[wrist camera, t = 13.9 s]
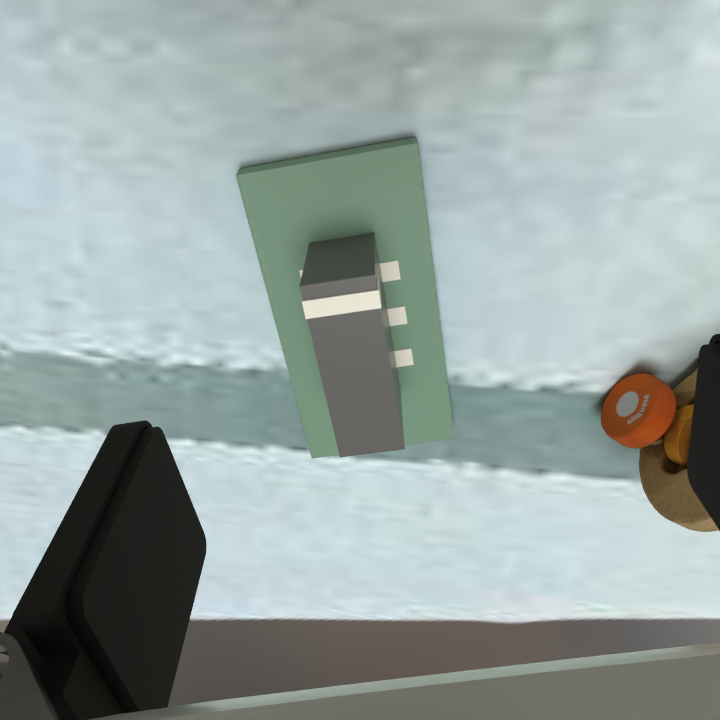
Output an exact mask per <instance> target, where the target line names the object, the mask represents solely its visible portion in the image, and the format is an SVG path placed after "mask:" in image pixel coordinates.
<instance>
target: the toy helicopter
mask: <svg viewBox="0 0 720 720" xmlns="http://www.w3.org/2000/svg"><path fill="white" fill-rule="evenodd" d="M697 370H698V368H697V369H696V370H695V371H694V373H693V374H692V375H690V376H689V377H687V378H686V379H685V380H683V381H682V382H681V383H680V384H679V385H677V386H676V387H675V388H674V389H673V390H672V389H671V388H670V387H669V386H668V385H666V384H665V383H663V382H662V381H660V380H659V379H657V378H655V377H654V376H652V375H649V374H643V373H641V374H635V375H631V376H629V377H627V378H625V379H623V380H621V381H620V382H619V383H618V384H617V385H616V386H615V387H614V388H613V389H612V390H611V392H610V393H609V395H608V396H607V398H606V400H605V402H604V404H603V407H602V411H601V424H602V427H603V429H604V431H605V432H606V434H607V435H608V436H609V437H611V438H612V439H614V440H615V441H617V442H619V443H620V444H622V445H624V446H626V447H629V448H641V449H640V458H639V470H640V477H641V482H642V486H643V489H644V491H645V494H646V496H647V498H648V499H649V501H650V503H651V504H652V505H653V507H654V508H655V509H656V510H657V511H658V512H659V513H660V514H661V515H662V516H663V517H665V518H666V519H668V520H670V521H672V522H675V523H677V524H679V525H681V526H683V527H685V528H687V529H691V530H695V531H701V532H710V531H717V530H719V529H718V527H717V526H716V524H715V523H714V521H713V520H712V518H711V517H710V515H709V514H708V512H707V511H706V509H705V508H704V506H703V505H702V503H701V502H700V500H699V499H698V497H697V496H696V494H695V493H694V491H693V489H692V487H691V485H690V483H689V479H688V474H687V464H688V454H689V445H690V436H691V426H692V417H693V407H694V398H695V389H696V379H697Z"/></svg>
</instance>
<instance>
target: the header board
mask: <svg viewBox="0 0 720 720" xmlns="http://www.w3.org/2000/svg"><path fill="white" fill-rule="evenodd" d="M236 178H237V181H238V185H239V189H240V192H241V196H242V200H243V204H244V207H245V211H246V215H247V219H248V222H249V226H250V230H251V233H252V237H253V241H254V245H255V248H256V252H257V256H258V259H259V263H260V267H261V271H262V274H263V278H264V282H265V286H266V289H267V293H268V297H269V300H270V304H271V308H272V312H273V315H274V319H275V323H276V327H277V330H278V334H279V338H280V341H281V345H282V349H283V353H284V356H285V360H286V364H287V368H288V371H289V375H290V379H291V382H292V386H293V390H294V394H295V397H296V401H297V405H298V409H299V412H300V416H301V420H302V423H303V427H304V431H305V435H306V438H307V442H308V446H309V450H310V453H311V457H312V458H319V457H326V456H333V455H339V451H338V447H337V443H336V439H335V435H334V430H333V426H332V422H331V418H330V413H329V409H328V405H327V401H326V397H325V392H324V388H323V384H322V380H321V375H320V371H319V367H318V363H317V359H316V354H315V350H314V346H313V342H312V337H311V333H310V329H309V325H308V321H307V319H306V318H305V314H304V309H303V305H302V295H301V291H300V287H299V286H300V281H301V277H302V273H303V268H304V264H305V260H306V255H307V251H308V247H309V243H312V242H318V241H325V240H331V239H337V238H344V237H350V236H356V235H363V234H369V233H375V239H376V245H377V251H378V257H379V263H380V269H381V275H382V281H383V287H384V293H385V299H386V305H387V311H388V317H389V323H390V329H391V335H392V341H393V348H394V354H395V360H396V366H397V372H398V378H399V384H400V390H401V402H402V417H403V432H404V445H410V444H417V443H423V442H430V441H437V440H444V439H451V438H454V430H453V422H452V414H451V406H450V398H449V390H448V382H447V374H446V366H445V358H444V350H443V342H442V333H441V325H440V317H439V309H438V301H437V293H436V285H435V277H434V269H433V261H432V253H431V245H430V236H429V228H428V220H427V212H426V204H425V196H424V188H423V180H422V172H421V164H420V156H419V148H418V142H417V139H416V137H412V138H406V139H401V140H395V141H390V142H384V143H379V144H373V145H368V146H362V147H356V148H351V149H345V150H340V151H334V152H329V153H323V154H317V155H312V156H306V157H301V158H295V159H290V160H284V161H278V162H273V163H267V164H262V165H256V166H251V167H245V168H240V169H239V171H238V173H237V175H236Z"/></svg>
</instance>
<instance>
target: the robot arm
mask: <svg viewBox="0 0 720 720" xmlns="http://www.w3.org/2000/svg"><path fill="white" fill-rule="evenodd" d="M687 474H688V479H689V483H690V485H691V487H692V489H693V491H694V493H695V494H696V496H697V497H698V499H699V500H700V502H701V503H702V505H703V506H704V508H705V509H706V511H707V512H708V514H709V515H710V517H711V518H712V520H713V521H714V523H715V524H716V526H717V527H718V529H719V530H720V334H715V335H714V336H712V338H711V340H710V343H709V344H707V345H703V346H702V347H701V349H700V353H699V361H698V370H697V379H696V389H695V398H694V407H693V417H692V426H691V436H690V445H689V454H688V464H687ZM205 555H206V538H205V534H204V531H203V529H202V527H201V524H200V522H199V519H198V517H197V514H196V512H195V509H194V507H193V504H192V502H191V499H190V497H189V494H188V492H187V490H186V487H185V485H184V482H183V480H182V477H181V475H180V472H179V470H178V467H177V465H176V462H175V460H174V458H173V455H172V453H171V450H170V448H169V445H168V443H167V440H166V438H165V435H164V433H163V431H162V430H161V428H160V427H152V425H151V424H150V423H149V422H148V421H138V422H131V423H125V424H118V425H114V426H113V427H112V428H111V429H110V431H109V433H108V435H107V437H106V439H105V441H104V443H103V444H102V446H101V448H100V450H99V452H98V454H97V456H96V458H95V460H94V461H93V463H92V465H91V467H90V469H89V471H88V473H87V475H86V477H85V479H84V480H83V482H82V484H81V486H80V488H79V490H78V492H77V494H76V496H75V497H74V499H73V501H72V503H71V505H70V507H69V509H68V511H67V513H66V514H65V516H64V518H63V520H62V522H61V524H60V526H59V528H58V530H57V531H56V533H55V535H54V537H53V539H52V541H51V543H50V545H49V547H48V548H47V550H46V552H45V554H44V556H43V558H42V560H41V562H40V564H39V566H38V567H37V569H36V571H35V573H34V575H33V577H32V579H31V581H30V583H29V584H28V586H27V588H26V590H25V592H24V594H23V596H22V598H21V600H20V601H19V603H18V605H17V607H16V609H15V611H14V613H13V616H12V618H11V620H10V622H9V624H8V626H7V628H6V629H5V632H4V633H2V632H0V720H720V643H712V644H703V645H694V646H685V647H676V648H666V649H657V650H648V651H639V652H630V653H621V654H612V655H602V656H594V657H584V658H576V659H567V660H558V661H549V662H540V663H531V664H523V665H514V666H505V667H496V668H488V669H479V670H470V671H461V672H453V673H445V674H436V675H427V676H418V677H410V678H402V679H393V680H384V681H376V682H367V683H359V684H350V685H342V686H334V687H326V688H318V689H310V690H301V691H293V692H284V693H277V694H268V695H259V696H252V697H243V698H235V699H226V700H219V701H211V702H203V703H197V704H189V705H182V706H174V707H167V706H168V703H169V698H170V695H171V690H172V686H173V683H174V679H175V674H176V671H177V666H178V663H179V659H180V655H181V650H182V646H183V643H184V639H185V634H186V631H187V626H188V623H189V619H190V615H191V611H192V607H193V603H194V599H195V595H196V591H197V587H198V583H199V579H200V575H201V571H202V567H203V563H204V559H205Z"/></svg>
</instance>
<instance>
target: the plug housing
mask: <svg viewBox="0 0 720 720" xmlns="http://www.w3.org/2000/svg"><path fill="white" fill-rule="evenodd" d="M299 287H300V291H301V295H302V305H303V309H304V314H305V318H306V319H307V321H308V325H309V329H310V333H311V337H312V342H313V346H314V350H315V354H316V359H317V363H318V367H319V371H320V375H321V380H322V384H323V388H324V392H325V397H326V401H327V405H328V409H329V413H330V418H331V422H332V426H333V430H334V435H335V439H336V443H337V447H338V451H339V456H340V457H346V456H354V455H362V454H370V453H378V452H386V451H394V450H402V449H405V447H404V432H403V417H402V402H401V390H400V384H399V378H398V372H397V366H396V360H395V354H394V348H393V341H392V335H391V329H390V323H389V317H388V311H387V305H386V299H385V293H384V287H383V281H382V275H381V269H380V263H379V257H378V251H377V245H376V239H375V233H369V234H363V235H356V236H350V237H344V238H337V239H331V240H325V241H318V242H312V243H309V247H308V251H307V255H306V260H305V264H304V268H303V273H302V277H301V281H300V286H299Z"/></svg>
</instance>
